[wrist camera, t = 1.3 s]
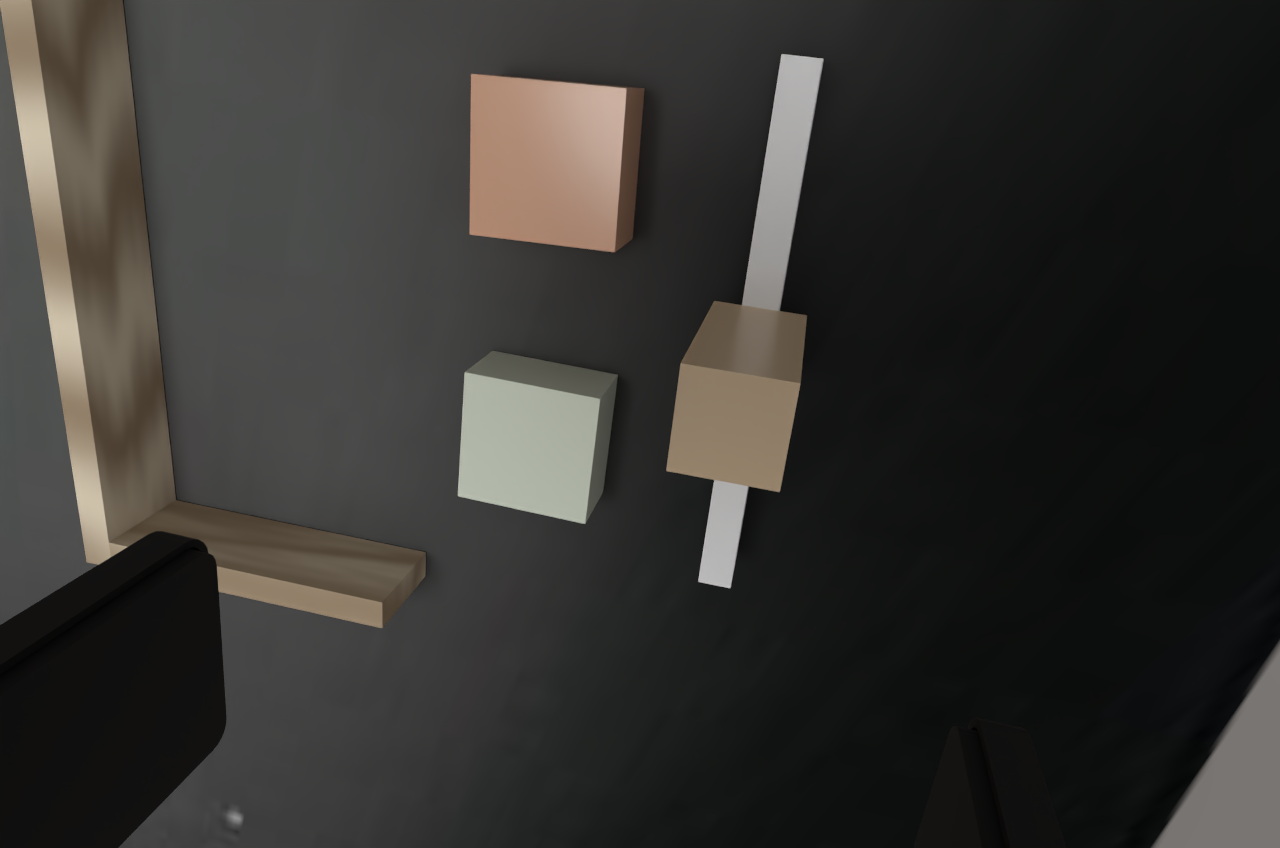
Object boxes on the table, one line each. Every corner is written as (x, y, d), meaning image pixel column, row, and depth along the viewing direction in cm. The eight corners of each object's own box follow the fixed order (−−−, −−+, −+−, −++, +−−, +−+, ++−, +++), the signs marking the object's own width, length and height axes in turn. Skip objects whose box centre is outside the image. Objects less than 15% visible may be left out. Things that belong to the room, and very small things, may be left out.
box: (75, -158, 30) (-31, -194, 26) (437, -127, 28) (378, -159, 24) (155, 518, 40) (86, 562, 36) (425, 575, 38) (382, 628, 34)
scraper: (758, 54, 28) (724, 37, 19) (852, 64, 28) (863, 52, 18) (686, 538, 35) (635, 698, 26) (760, 553, 34) (735, 721, 25)
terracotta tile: (503, 75, 30) (471, 73, 27) (645, 88, 29) (626, 88, 26) (500, 221, 32) (469, 234, 29) (634, 238, 31) (614, 252, 28)
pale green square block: (494, 348, 34) (464, 372, 31) (619, 373, 33) (600, 399, 30) (486, 464, 36) (457, 496, 33) (604, 489, 35) (585, 523, 32)
